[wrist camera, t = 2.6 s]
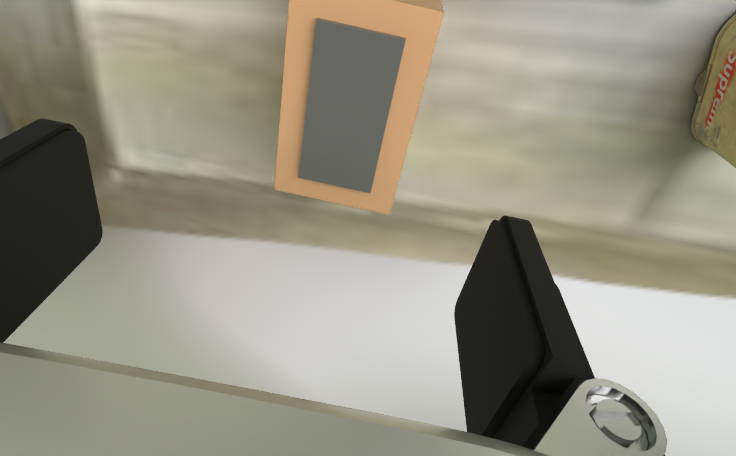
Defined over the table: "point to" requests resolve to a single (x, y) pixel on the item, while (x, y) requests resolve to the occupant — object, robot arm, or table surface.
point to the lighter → (718, 97)
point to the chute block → (352, 96)
